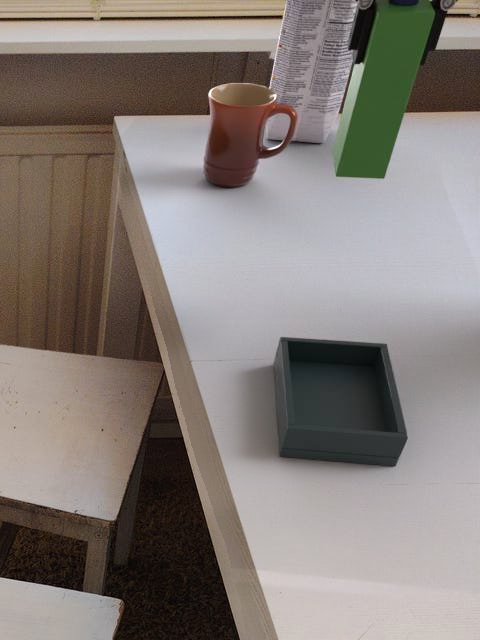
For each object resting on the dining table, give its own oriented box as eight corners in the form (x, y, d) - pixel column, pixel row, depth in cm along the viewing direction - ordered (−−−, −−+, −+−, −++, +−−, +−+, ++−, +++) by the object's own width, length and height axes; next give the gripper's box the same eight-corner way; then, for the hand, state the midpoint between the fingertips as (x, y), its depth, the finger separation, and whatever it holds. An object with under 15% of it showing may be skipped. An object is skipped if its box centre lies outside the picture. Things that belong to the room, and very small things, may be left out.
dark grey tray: (272, 364, 86) (280, 336, 83) (376, 371, 85) (386, 343, 82) (279, 456, 76) (287, 428, 74) (395, 466, 75) (408, 437, 73)
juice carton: (331, 147, 120) (395, -96, 99) (258, 142, 122) (305, -98, 102) (332, 125, 126) (393, -111, 105) (263, 120, 128) (309, -113, 107)
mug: (188, 186, 114) (200, 101, 106) (205, 162, 118) (218, 79, 111) (275, 199, 110) (294, 113, 102) (289, 174, 115) (308, 90, 107)
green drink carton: (331, 152, 83) (377, -25, 72) (378, 154, 82) (431, -25, 71) (335, 177, 79) (383, -6, 68) (384, 179, 78) (441, -6, 67)
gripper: (584, -245, 61) (480, 49, 75) (345, -238, 63) (288, 45, 77) (611, -234, 56) (494, 77, 70) (352, -227, 58) (290, 72, 73)
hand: (387, 57), depth 74 cm, fingers closed on green drink carton, 4 cm apart
